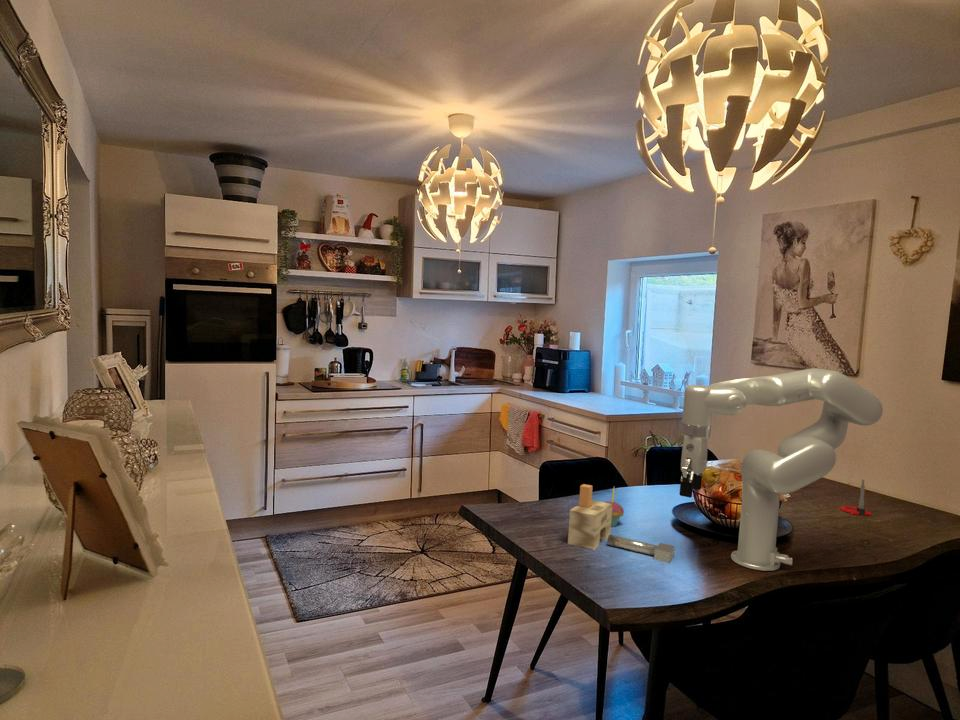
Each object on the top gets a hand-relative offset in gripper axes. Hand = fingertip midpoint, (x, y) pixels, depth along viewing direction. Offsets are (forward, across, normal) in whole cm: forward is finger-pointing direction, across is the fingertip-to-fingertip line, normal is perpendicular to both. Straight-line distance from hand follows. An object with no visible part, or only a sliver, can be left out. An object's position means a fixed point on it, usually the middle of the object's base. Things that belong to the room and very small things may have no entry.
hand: (690, 492), depth 172 cm
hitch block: (+20, -2, +27) cm, 34 cm away
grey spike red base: (+19, +91, -38) cm, 100 cm away
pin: (+20, -1, +13) cm, 24 cm away
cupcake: (+20, +16, +28) cm, 38 cm away
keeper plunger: (+11, -2, +29) cm, 31 cm away
